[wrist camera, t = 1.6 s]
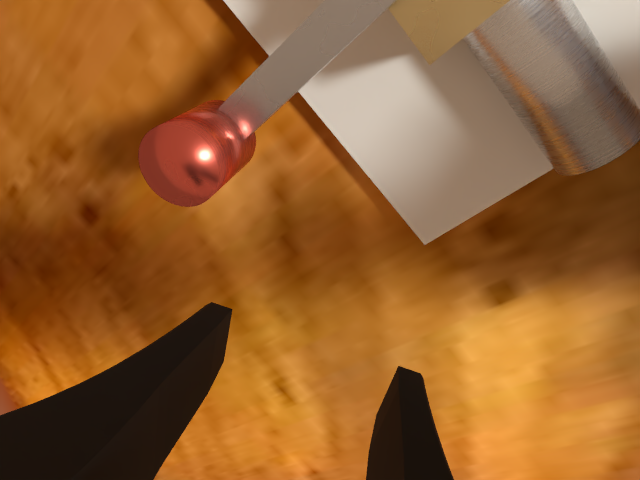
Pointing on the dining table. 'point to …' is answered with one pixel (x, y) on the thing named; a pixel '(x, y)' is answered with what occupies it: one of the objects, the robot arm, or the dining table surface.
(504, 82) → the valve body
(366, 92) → the valve board
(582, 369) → the dining table surface
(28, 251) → the dining table surface
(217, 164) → the valve lever
